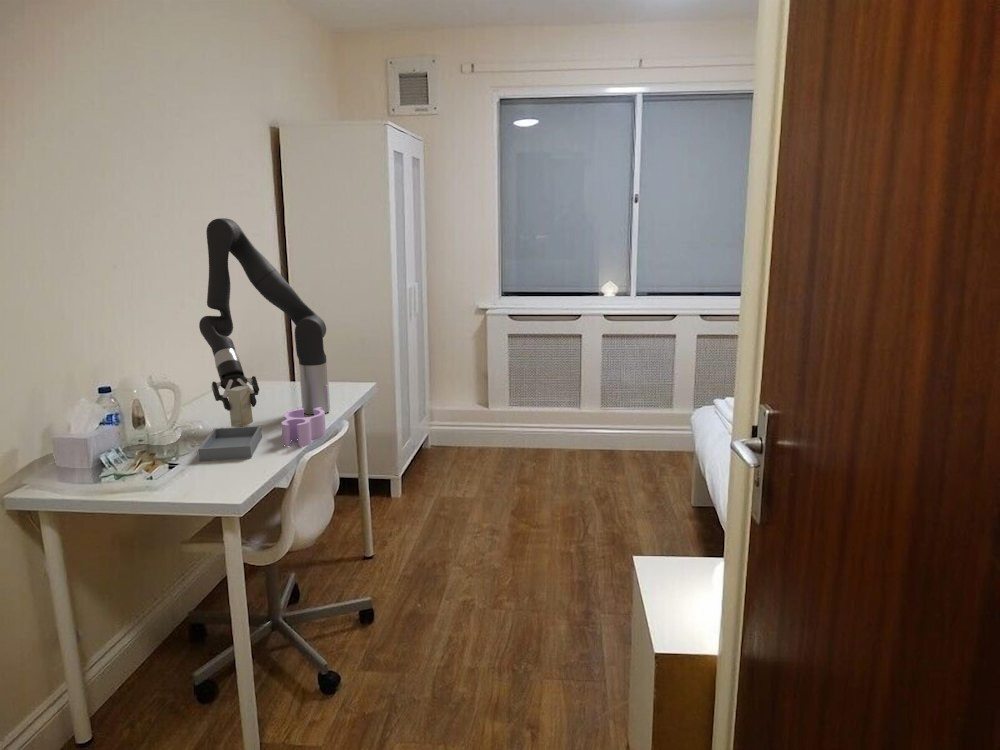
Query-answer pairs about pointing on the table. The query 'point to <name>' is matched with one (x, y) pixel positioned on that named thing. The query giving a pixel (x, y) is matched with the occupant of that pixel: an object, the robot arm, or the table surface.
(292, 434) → the clip
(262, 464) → the table surface
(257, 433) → the tray
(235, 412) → the skincare box
